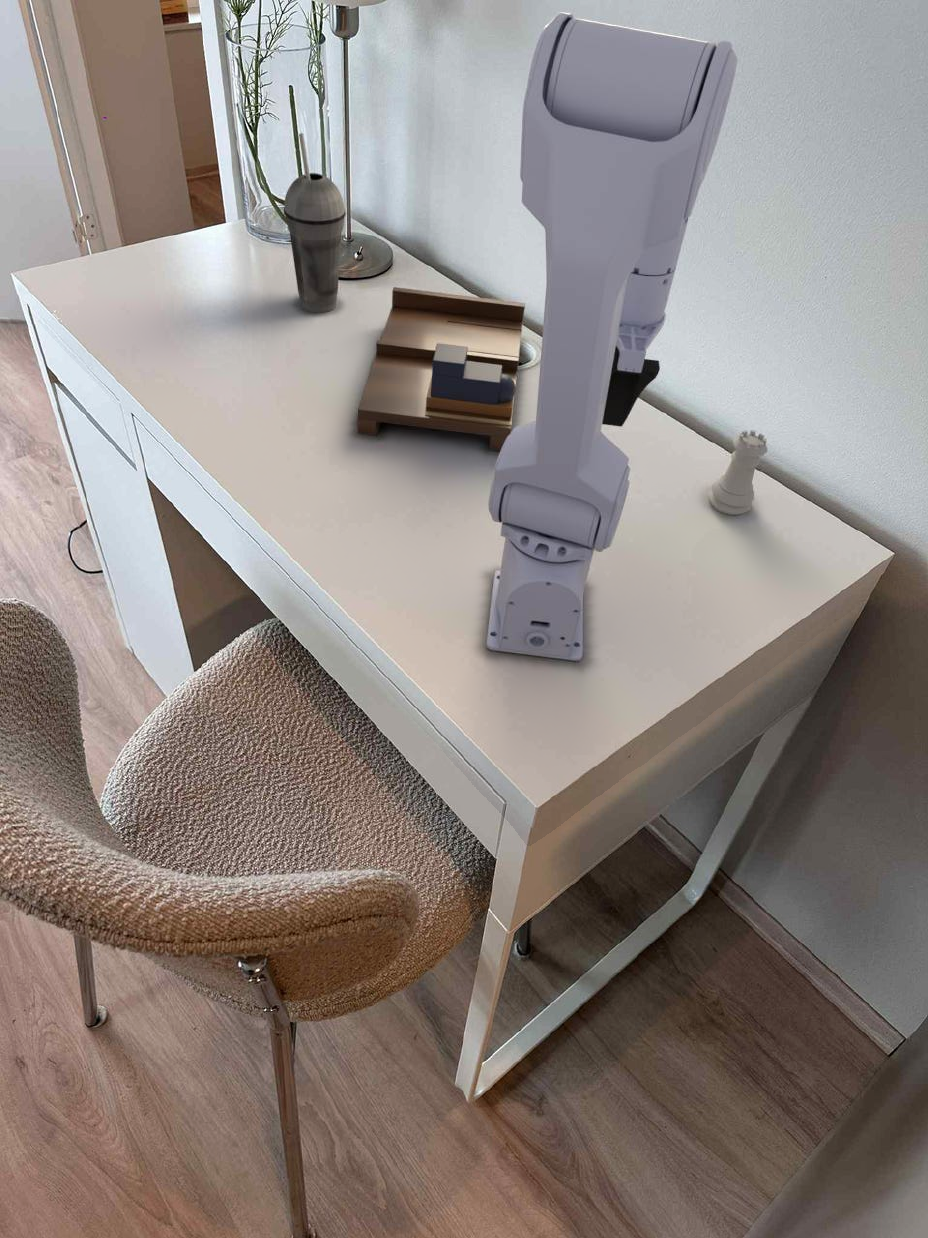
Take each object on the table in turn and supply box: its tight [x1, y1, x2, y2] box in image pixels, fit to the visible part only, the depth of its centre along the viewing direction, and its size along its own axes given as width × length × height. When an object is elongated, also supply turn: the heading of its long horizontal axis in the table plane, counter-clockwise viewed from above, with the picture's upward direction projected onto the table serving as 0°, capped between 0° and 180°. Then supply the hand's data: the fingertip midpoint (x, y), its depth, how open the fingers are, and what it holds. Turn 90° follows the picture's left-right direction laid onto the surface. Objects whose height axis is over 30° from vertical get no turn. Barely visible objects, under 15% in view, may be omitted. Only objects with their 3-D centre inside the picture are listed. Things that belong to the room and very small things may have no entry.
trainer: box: [426, 343, 517, 418], centre depth 92 cm, size 9×4×5 cm, turn 84°
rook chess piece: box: [708, 429, 768, 516], centre depth 88 cm, size 4×4×8 cm
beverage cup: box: [283, 132, 347, 314], centre depth 105 cm, size 7×7×20 cm
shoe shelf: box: [356, 286, 526, 452], centre depth 100 cm, size 24×16×5 cm, turn 174°
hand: (610, 400), depth 85 cm, fingers open, 7 cm apart
